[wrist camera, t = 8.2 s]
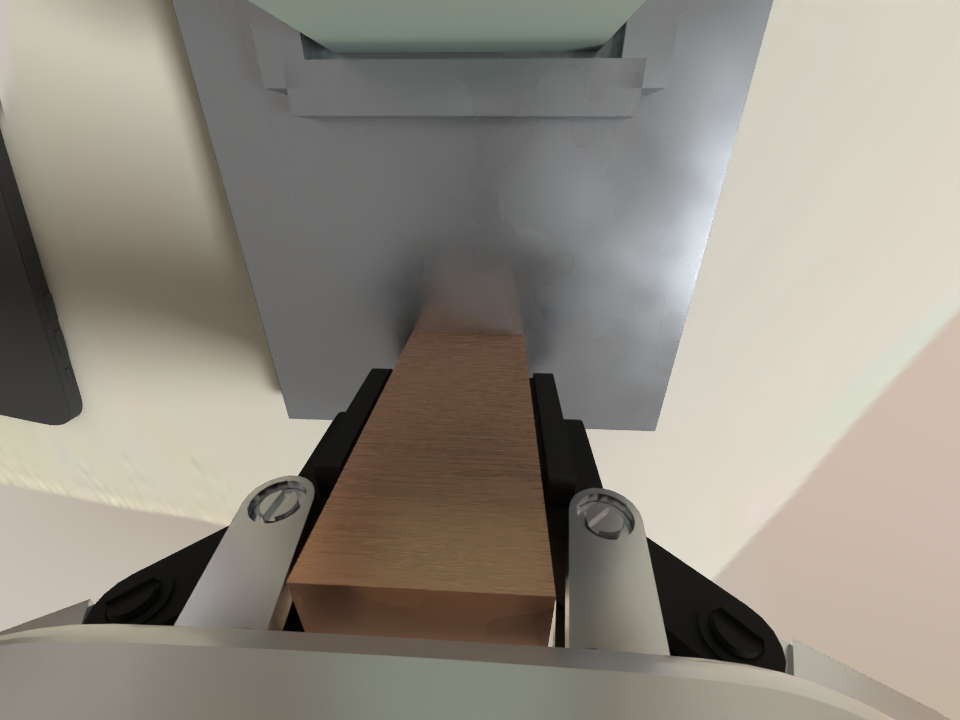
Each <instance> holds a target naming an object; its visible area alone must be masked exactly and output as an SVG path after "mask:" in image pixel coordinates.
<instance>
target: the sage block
mask: <svg viewBox="0 0 960 720" xmlns="http://www.w3.org/2000/svg"><path fill="white" fill-rule="evenodd" d="M249 1H250V2H252V3H254V4H255V5H257V6H258V7H260V8H262V9H263V10H265V11H267V12H268V13H270V14H272V15H273V16H275V17H276V18H278V19H280V20H281V21H283V22H285V23H286V24H288V25H290V26H291V27H293V28H294V29H296V30H298V31H299V32H301V33H303V34H304V35H306V36H308V37H309V38H311V39H312V40H314V41H316V42H317V43H319V44H321V45H322V46H324V47H326V48H327V49H329V50H330V51H332V52H334V53H381V52H561V51H599V50H600V49H601V48H602V47H603V46H604V45H605V44H606V42H607V41H608V40H609V39H610V38H611V37H612V36H613V35H614V34H615V33H616V32H617V31H618V30H619V28H620V27H621V26H622V25H623V24H624V23H625V22H626V21H627V20H628V19H629V18H630V17H631V16H632V15H633V13H634V12H635V11H636V10H637V9H638V8H639V7H640V6H641V5H642V4H643V3H644V2H645V1H646V0H249Z"/></svg>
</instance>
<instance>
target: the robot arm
mask: <svg viewBox="0 0 960 720" xmlns="http://www.w3.org/2000/svg"><path fill="white" fill-rule="evenodd" d="M392 372H393V369H382V368H372V369H371V371H370V372H369V374H368V376H367V377H366V379H365V381H364V382H363V384H362V385H361V387H360V389H359V390H358V392H357V394H356V395H355V397H354V399H353V400H352V402H351V404H350V405H349V407H348V409H347V410H346V412H339V413H338V414H337V415H336V417H335V418H334V420H333V422H332V423H331V425H330V426H329V428H328V429H327V431H326V433H325V434H324V436H323V437H322V439H321V441H320V442H319V444H318V445H317V447H316V448H315V450H314V452H313V453H312V455H311V456H310V458H309V459H308V461H307V463H306V464H305V466H304V467H303V469H302V471H301V472H300V474H299V475H298V476H284V477H279V478H276V479H273V480H270V481H268V482H266V483H264V484H262V485H261V486H259V487H257V488H256V489H255V490H254V491H252V492H251V493H250V494H249V495H248V496H247V497H246V499H245V500H244V501H243V503H242V504H241V506H240V508H239V509H238V511H237V513H236V515H235V517H234V518H233V520H232V522H231V524H230V525H229V526H227V527H225V528H223V529H221V530H219V531H218V532H215V533H214V534H212V535H210V536H208V537H206V538H204V539H202V540H200V541H198V542H196V543H194V544H192V545H190V546H188V547H186V548H184V549H182V550H180V551H178V552H176V553H174V554H172V555H170V556H168V557H166V558H164V559H162V560H160V561H158V562H156V563H154V564H152V565H150V566H148V567H146V568H144V569H142V570H140V571H138V572H136V573H134V574H132V575H131V576H129V577H128V578H126V579H124V580H122V581H121V582H119V583H118V584H116V585H115V586H114V587H113V588H111V589H110V590H109V591H108V592H106V593H105V594H104V595H103V596H102V597H101V598H100V599H99V601H98V602H97V603H96V604H94V603H93V602H92V601H91V600H90V599H89V600H86V601H83V602H81V603H78V604H75V605H72V606H70V607H67V608H64V609H62V610H59V611H56V612H54V613H51V614H48V615H45V616H43V617H40V618H37V619H34V620H32V621H29V622H26V623H23V624H21V625H18V626H15V627H13V628H10V629H7V630H4V631H2V632H0V720H950V719H948V718H947V717H945V716H943V715H942V714H940V713H939V712H937V711H935V710H933V709H931V708H929V707H927V706H925V705H923V704H921V703H920V702H917V701H915V700H914V699H912V698H910V697H908V696H906V695H904V694H902V693H900V692H898V691H896V690H894V689H892V688H890V687H888V686H886V685H884V684H882V683H880V682H878V681H876V680H874V679H872V678H870V677H868V676H866V675H864V674H862V673H860V672H858V671H856V670H854V669H852V668H850V667H848V666H846V665H844V664H842V663H840V662H838V661H836V660H835V659H833V658H830V657H829V656H827V655H825V654H822V653H821V652H819V651H817V650H814V649H813V648H811V647H809V646H807V645H805V644H803V643H801V642H799V641H797V640H795V639H792V640H791V641H790V643H787V642H785V641H783V640H781V639H779V638H777V637H776V635H775V633H774V631H773V630H772V629H771V628H770V627H769V625H768V624H767V623H766V622H765V621H764V620H763V618H762V617H760V616H759V615H758V614H757V613H756V612H754V611H753V610H752V609H751V608H749V607H748V606H747V605H745V604H744V603H742V602H741V601H739V600H738V599H737V598H735V597H733V596H732V595H731V594H729V593H728V592H726V591H725V590H723V589H722V588H720V587H719V586H718V585H716V584H715V583H713V582H712V581H710V580H709V579H707V578H706V577H704V576H703V575H701V574H700V573H699V572H697V571H696V570H694V569H693V568H691V567H690V566H688V565H687V564H685V563H684V562H683V561H681V560H680V559H678V558H677V557H675V556H674V555H672V554H671V553H669V552H668V551H666V550H665V549H664V548H662V547H661V546H659V545H658V544H656V543H655V542H653V541H652V540H650V539H649V538H647V537H646V534H645V529H644V524H643V520H642V518H641V515H640V513H639V511H638V510H637V508H636V507H635V506H634V505H633V503H631V502H630V501H629V500H628V499H626V498H625V497H624V496H622V495H620V494H618V493H616V492H614V491H611V490H607V489H603V487H602V483H601V480H600V477H599V473H598V470H597V467H596V464H595V460H594V457H593V454H592V450H591V447H590V444H589V440H588V437H587V434H586V430H585V427H584V424H583V422H582V420H578V419H564V418H563V414H562V409H561V405H560V401H559V397H558V392H557V388H556V384H555V379H554V375H553V373H533V378H529V382H530V390H531V398H532V406H533V414H534V423H535V431H536V439H537V447H538V455H539V463H540V471H541V479H542V488H543V496H544V504H545V512H546V520H547V528H548V536H549V544H550V553H551V561H552V569H553V577H554V585H555V593H556V599H555V605H554V616H553V646H552V647H545V646H529V645H513V644H497V643H482V642H465V641H448V640H431V639H414V638H397V637H380V636H362V635H345V634H327V633H309V632H305V631H304V628H303V625H302V623H301V620H300V617H299V615H298V612H297V610H296V607H295V604H294V602H293V599H292V596H291V594H290V591H289V588H288V586H287V583H286V582H287V580H288V578H289V576H290V574H291V572H292V570H293V568H294V566H295V564H296V562H297V560H298V558H299V556H300V554H301V552H302V550H303V548H304V546H305V544H306V542H307V540H308V538H309V536H310V534H311V532H312V530H313V528H314V526H315V524H316V522H317V520H318V518H319V516H320V514H321V512H322V510H323V508H324V507H325V505H326V503H327V501H328V499H329V497H330V495H331V493H332V491H333V489H334V487H335V485H336V483H337V481H338V479H339V477H340V475H341V473H342V471H343V469H344V467H345V465H346V463H347V461H348V459H349V457H350V455H351V453H352V451H353V449H354V447H355V445H356V443H357V441H358V439H359V437H360V435H361V433H362V431H363V429H364V427H365V425H366V423H367V421H368V419H369V417H370V415H371V413H372V411H373V409H374V407H375V405H376V403H377V401H378V399H379V397H380V395H381V393H382V391H383V389H384V387H385V385H386V383H387V381H388V379H389V377H390V376H391V374H392Z"/></svg>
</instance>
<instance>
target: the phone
mask: <svg viewBox="0 0 960 720" xmlns="http://www.w3.org/2000/svg"><path fill="white" fill-rule="evenodd" d="M1 107H2V103H1V100H0V109H1ZM81 411H82V399H81V395H80V392H79V388H78V385H77V382H76V379H75V375H74V372H73V369H72V365H71V362H70V359H69V355H68V351H67V348H66V344H65V341H64V337H63V334H62V331H61V329H60V326H59V322H58V317H57V313H56V310H55V306H54V303H53V299H52V296H51V294H50V292H49V289H48V286H47V282H46V279H45V276H44V273H43V269H42V266H41V263H40V259H39V256H38V253H37V249H36V246H35V243H34V239H33V236H32V233H31V229H30V226H29V223H28V220H27V216H26V213H25V210H24V206H23V203H22V200H21V196H20V193H19V190H18V186H17V183H16V180H15V176H14V173H13V170H12V167H11V163H10V160H9V157H8V153H7V150H6V147H5V143H4V140H3V137H2V133H1V130H0V415H4V416H9V417H14V418H18V419H23V420H28V421H33V422H38V423H43V424H48V425H62V424H65V423H67V422H68V421H70V420H72V419H73V418H75V417H77V416H78V415H79V414H80V413H81Z"/></svg>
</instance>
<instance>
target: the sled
mask: <svg viewBox="0 0 960 720" xmlns="http://www.w3.org/2000/svg"><path fill="white" fill-rule="evenodd" d="M172 3H173V6H174V10H175V13H176V17H177V21H178V24H179V28H180V31H181V35H182V38H183V42H184V45H185V49H186V53H187V56H188V60H189V63H190V67H191V70H192V74H193V78H194V81H195V85H196V88H197V92H198V95H199V99H200V102H201V106H202V110H203V113H204V117H205V120H206V124H207V127H208V131H209V135H210V138H211V142H212V145H213V149H214V152H215V156H216V159H217V163H218V167H219V170H220V174H221V177H222V181H223V184H224V188H225V192H226V195H227V199H228V202H229V206H230V209H231V213H232V216H233V220H234V224H235V227H236V231H237V234H238V238H239V241H240V245H241V249H242V252H243V256H244V259H245V263H246V266H247V270H248V273H249V277H250V281H251V284H252V288H253V291H254V295H255V298H256V302H257V305H258V309H259V313H260V316H261V320H262V323H263V327H264V330H265V334H266V338H267V341H268V345H269V348H270V352H271V355H272V359H273V362H274V366H275V370H276V373H277V377H278V380H279V384H280V387H281V391H282V395H283V398H284V402H285V405H286V409H287V412H288V416H289V418H291V419H320V420H334V418H335V417H336V415H337V414H338V413H339V412H346V410H347V409H348V407H349V405H350V404H351V402H352V400H353V399H354V397H355V395H356V394H357V392H358V390H359V389H360V387H361V385H362V384H363V382H364V381H365V379H366V377H367V376H368V374H369V372H370V371H371V369H372V368H382V369H393V372H392V374H391V376H390V377H389V379H388V381H387V383H386V385H385V387H384V389H383V391H382V393H381V395H380V397H379V399H378V401H377V403H376V405H375V407H374V409H373V411H372V413H371V415H370V417H369V419H368V421H367V423H366V425H365V427H364V429H363V431H362V433H361V435H360V437H359V439H358V441H357V443H356V445H355V447H354V449H353V451H352V453H351V455H350V457H349V459H348V461H347V463H346V465H345V467H344V469H343V471H342V473H341V475H340V477H339V479H338V481H337V483H336V485H335V487H334V489H333V491H332V493H331V495H330V497H329V499H328V501H327V503H326V505H325V507H324V508H323V510H322V512H321V514H320V516H319V518H318V520H317V522H316V524H315V526H314V528H313V530H312V532H311V534H310V536H309V538H308V540H307V542H306V544H305V546H304V548H303V550H302V552H301V554H300V556H299V558H298V560H297V562H296V564H295V566H294V568H293V570H292V572H291V574H290V576H289V578H288V580H287V582H286V583H287V586H288V588H289V591H290V594H291V596H292V599H293V602H294V604H295V607H296V610H297V612H298V615H299V617H300V620H301V623H302V625H303V628H304V631H305V632H309V633H327V634H345V635H362V636H380V637H397V638H414V639H431V640H448V641H465V642H482V643H497V644H513V645H529V646H545V647H548V642H549V636H550V630H551V623H552V617H553V611H554V605H555V599H556V593H555V585H554V577H553V569H552V561H551V553H550V544H549V536H548V528H547V520H546V512H545V504H544V496H543V488H542V479H541V471H540V463H539V455H538V447H537V439H536V431H535V423H534V414H533V406H532V398H531V390H530V382H529V378H533V373H553V375H554V379H555V384H556V388H557V392H558V397H559V401H560V405H561V409H562V414H563V418H564V419H578V420H582V422H583V424H584V427H585V429H610V430H639V431H655V429H656V426H657V422H658V418H659V415H660V411H661V408H662V404H663V400H664V397H665V393H666V389H667V386H668V382H669V378H670V375H671V371H672V367H673V364H674V360H675V357H676V353H677V349H678V346H679V342H680V338H681V335H682V331H683V327H684V324H685V320H686V316H687V313H688V309H689V305H690V302H691V298H692V295H693V291H694V287H695V284H696V280H697V276H698V273H699V269H700V265H701V262H702V258H703V254H704V251H705V247H706V244H707V240H708V236H709V233H710V229H711V225H712V222H713V218H714V214H715V211H716V207H717V203H718V200H719V196H720V192H721V189H722V185H723V182H724V178H725V174H726V171H727V167H728V163H729V160H730V156H731V152H732V149H733V145H734V141H735V138H736V134H737V130H738V127H739V123H740V120H741V116H742V112H743V109H744V105H745V101H746V98H747V94H748V90H749V87H750V83H751V79H752V76H753V72H754V69H755V65H756V61H757V58H758V54H759V50H760V47H761V43H762V39H763V36H764V32H765V28H766V25H767V21H768V17H769V14H770V10H771V7H772V3H773V0H646V1H645V2H644V3H643V4H642V5H641V6H640V7H639V8H638V9H637V10H636V11H635V12H634V13H633V15H632V16H631V17H630V18H629V19H628V20H627V21H626V22H625V23H624V24H623V25H622V26H621V27H620V28H619V30H618V31H617V32H616V33H615V34H614V35H613V36H612V37H611V38H610V39H609V40H608V41H607V42H606V44H605V45H604V46H603V47H602V48H601V49H600V50H599V51H561V52H381V53H334V52H332V51H330V50H329V49H327V48H326V47H324V46H322V45H321V44H319V43H317V42H316V41H314V40H312V39H311V38H309V37H308V36H306V35H304V34H303V33H301V32H299V31H298V30H296V29H294V28H293V27H291V26H290V25H288V24H286V23H285V22H283V21H281V20H280V19H278V18H276V17H275V16H273V15H272V14H270V13H268V12H267V11H265V10H263V9H262V8H260V7H258V6H257V5H255V4H254V3H252V2H250V1H249V0H172Z"/></svg>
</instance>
